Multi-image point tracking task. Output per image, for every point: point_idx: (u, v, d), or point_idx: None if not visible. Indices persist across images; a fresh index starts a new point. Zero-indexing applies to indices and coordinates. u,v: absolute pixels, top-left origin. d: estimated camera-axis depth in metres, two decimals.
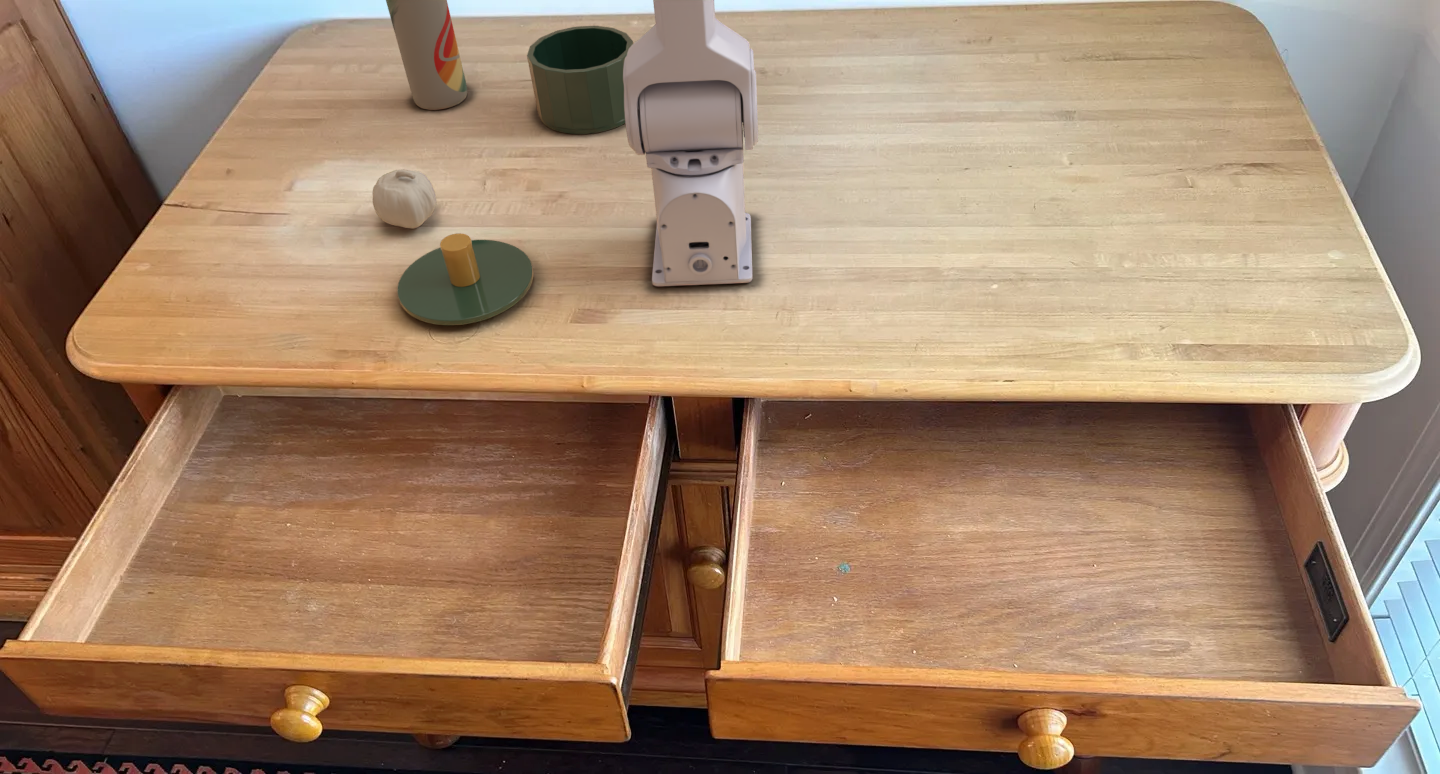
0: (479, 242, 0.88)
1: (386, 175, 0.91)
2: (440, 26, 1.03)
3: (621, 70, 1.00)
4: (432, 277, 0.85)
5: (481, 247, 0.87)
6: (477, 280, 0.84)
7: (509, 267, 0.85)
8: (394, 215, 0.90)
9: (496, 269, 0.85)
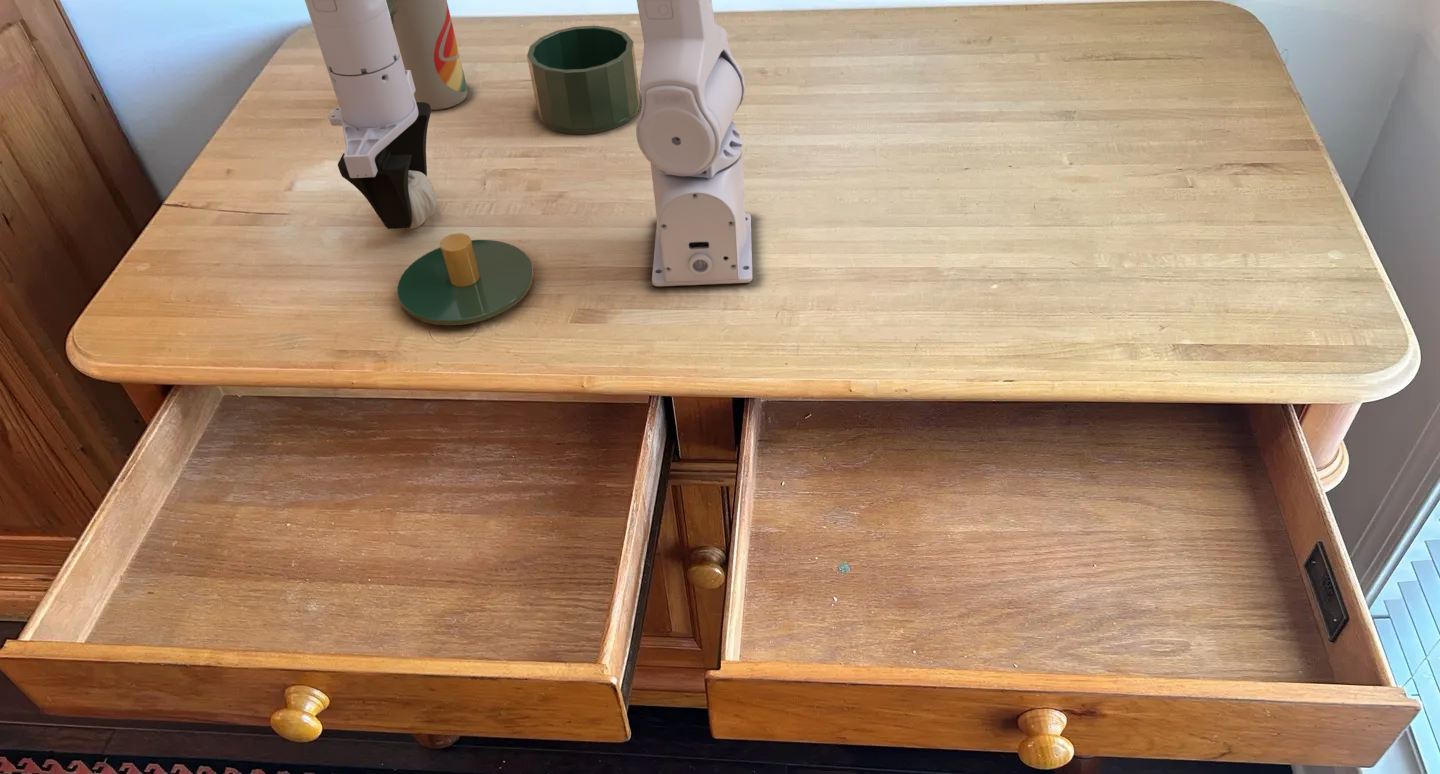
0: (479, 242, 0.88)
1: None
2: (440, 26, 1.03)
3: (621, 70, 1.00)
4: (432, 277, 0.85)
5: (481, 247, 0.87)
6: (477, 280, 0.84)
7: (509, 267, 0.85)
8: None
9: (496, 269, 0.85)
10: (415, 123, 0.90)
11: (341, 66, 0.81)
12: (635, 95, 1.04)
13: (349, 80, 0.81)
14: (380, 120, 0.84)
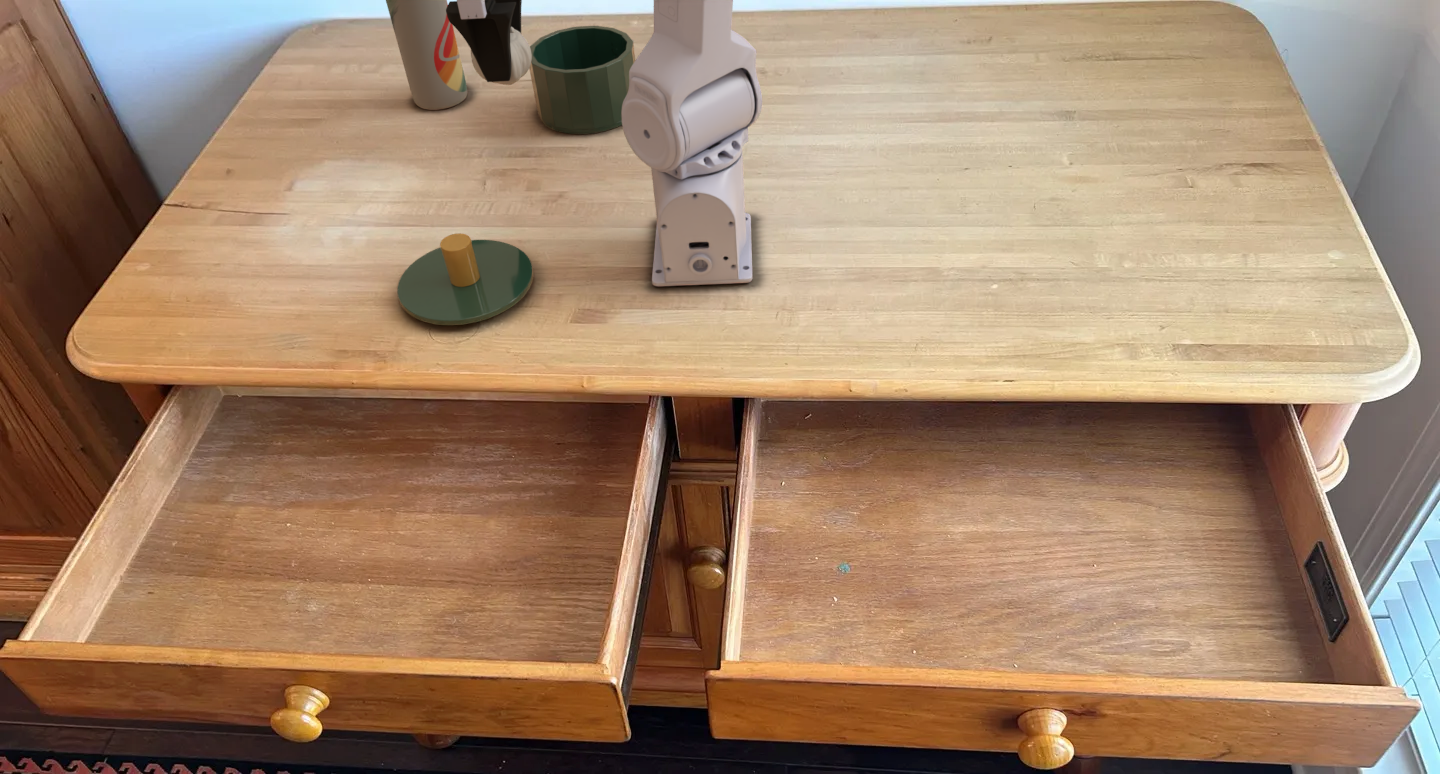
0: (479, 242, 0.88)
1: None
2: (440, 26, 1.03)
3: (621, 70, 1.00)
4: (432, 277, 0.85)
5: (481, 247, 0.87)
6: (477, 280, 0.84)
7: (509, 267, 0.85)
8: None
9: (496, 269, 0.85)
10: None
11: None
12: None
13: None
14: None
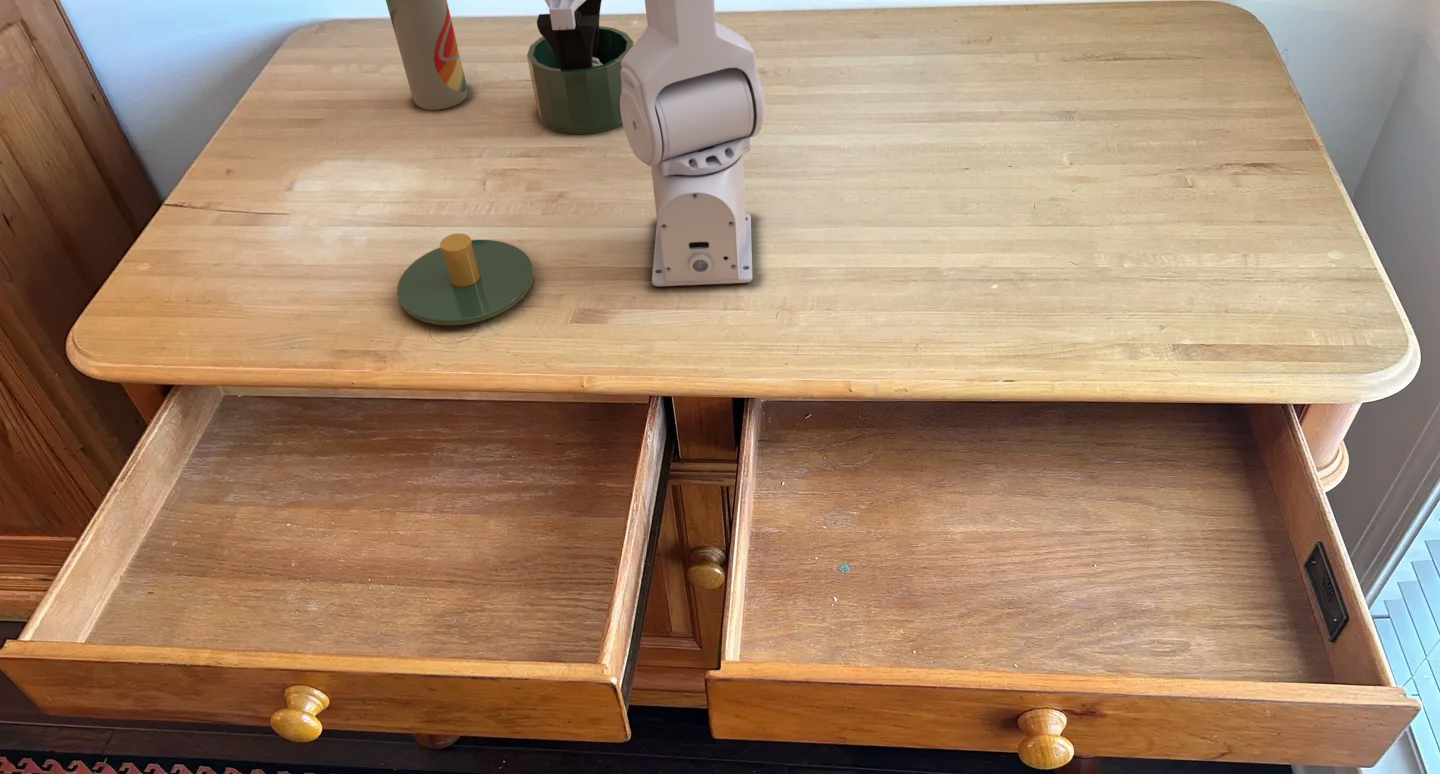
0: (479, 242, 0.88)
1: None
2: (440, 26, 1.03)
3: None
4: (432, 277, 0.85)
5: (481, 247, 0.87)
6: (477, 280, 0.84)
7: (509, 267, 0.85)
8: None
9: (496, 269, 0.85)
10: None
11: None
12: None
13: None
14: None
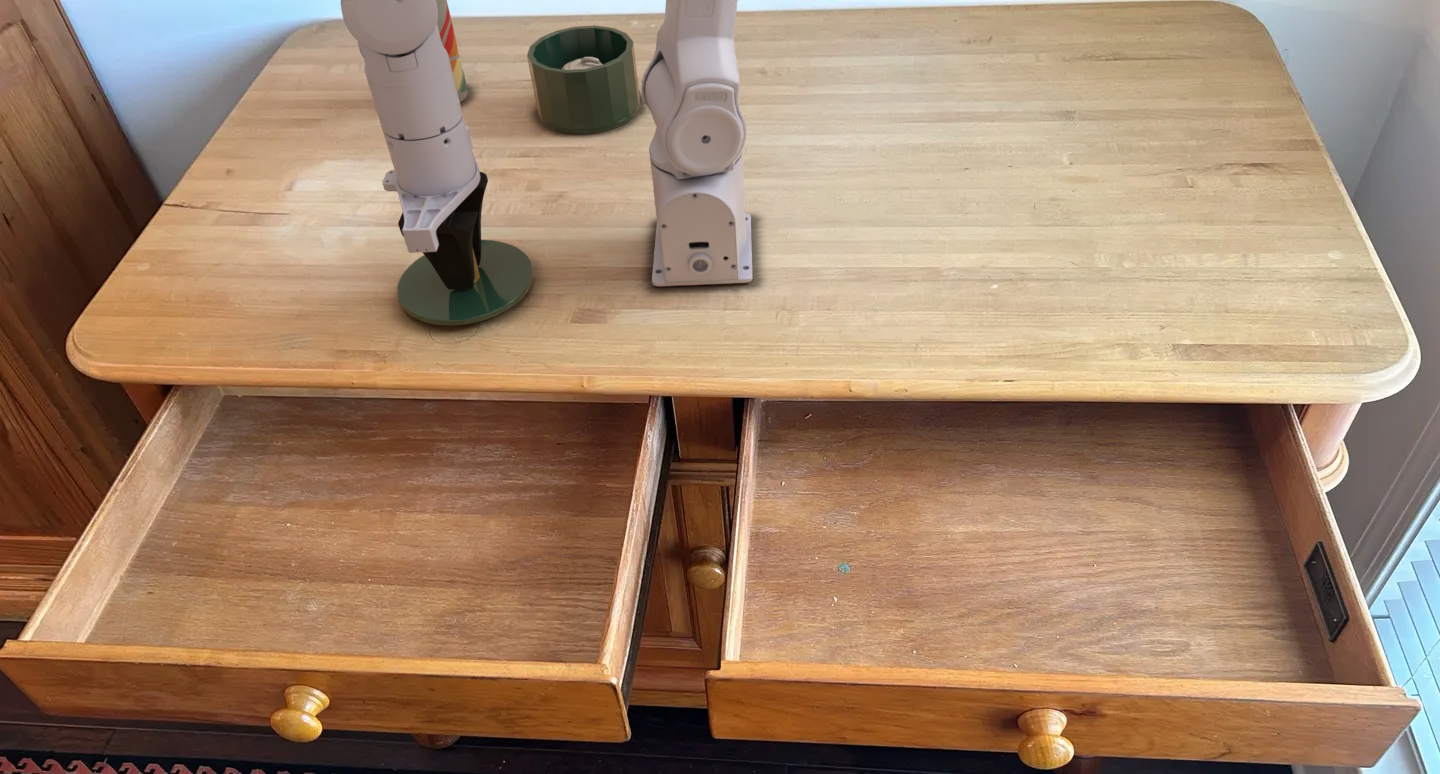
0: None
1: (570, 63, 1.04)
2: (440, 26, 1.03)
3: (621, 70, 1.00)
4: (432, 277, 0.85)
5: (481, 247, 0.87)
6: (477, 280, 0.84)
7: (509, 267, 0.85)
8: None
9: (496, 270, 0.85)
10: (471, 196, 0.81)
11: (418, 129, 0.72)
12: (635, 95, 1.04)
13: (408, 145, 0.73)
14: (440, 187, 0.76)
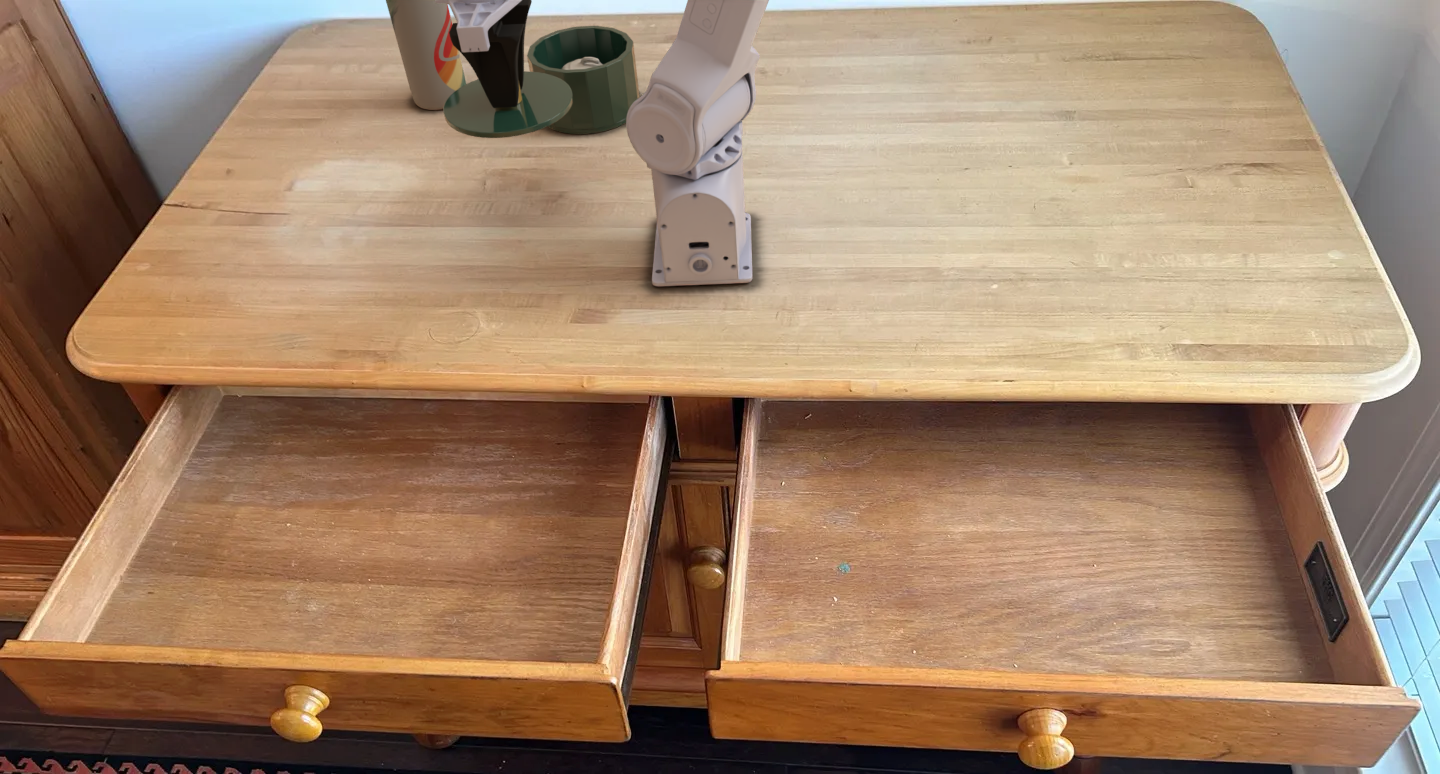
0: None
1: (570, 63, 1.04)
2: (440, 26, 1.03)
3: (621, 70, 1.00)
4: (476, 100, 0.89)
5: None
6: (520, 101, 0.88)
7: (549, 91, 0.89)
8: None
9: (537, 93, 0.89)
10: (516, 14, 0.85)
11: None
12: (635, 95, 1.04)
13: None
14: None
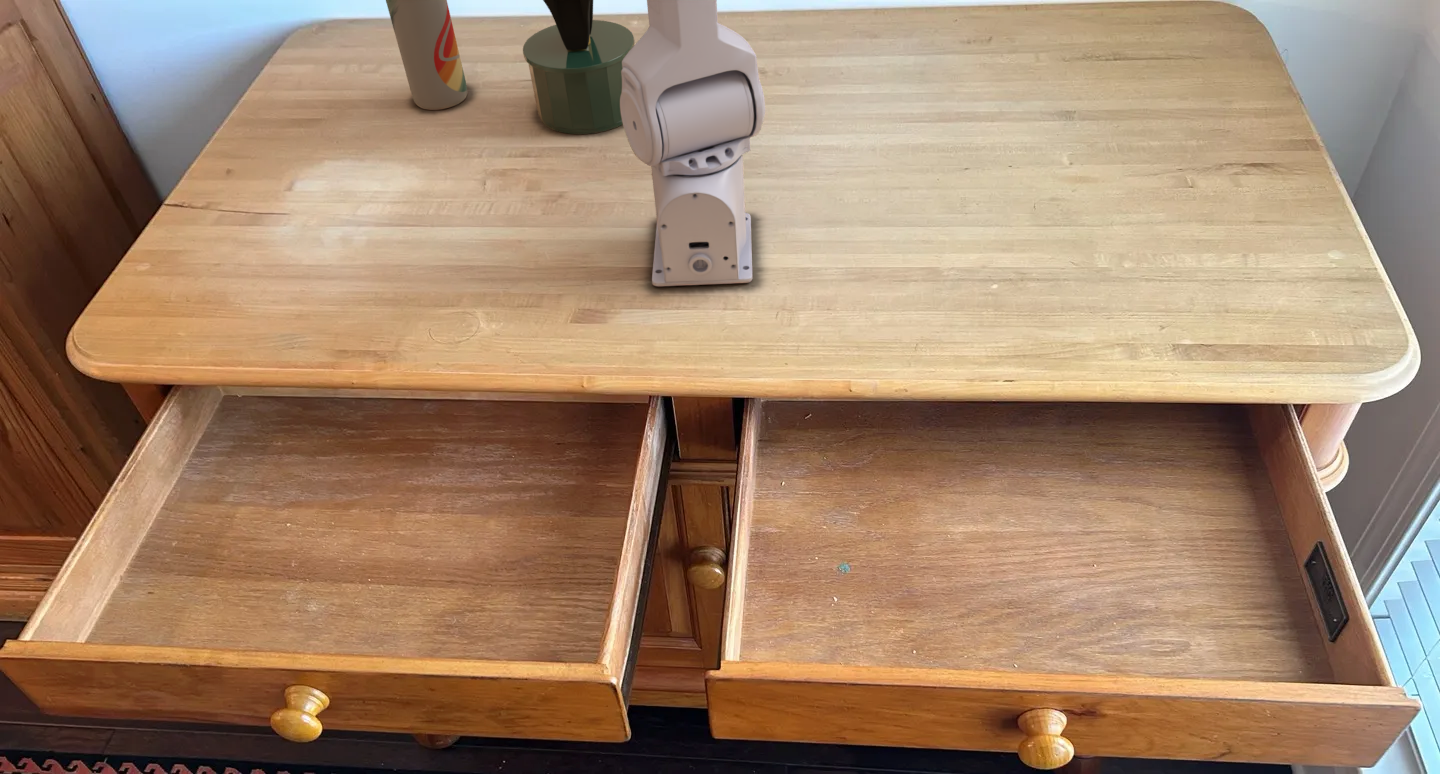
0: None
1: None
2: (440, 26, 1.03)
3: (621, 70, 1.00)
4: (550, 43, 1.02)
5: None
6: (589, 44, 1.01)
7: (614, 36, 1.03)
8: None
9: (603, 37, 1.02)
10: None
11: None
12: None
13: None
14: None
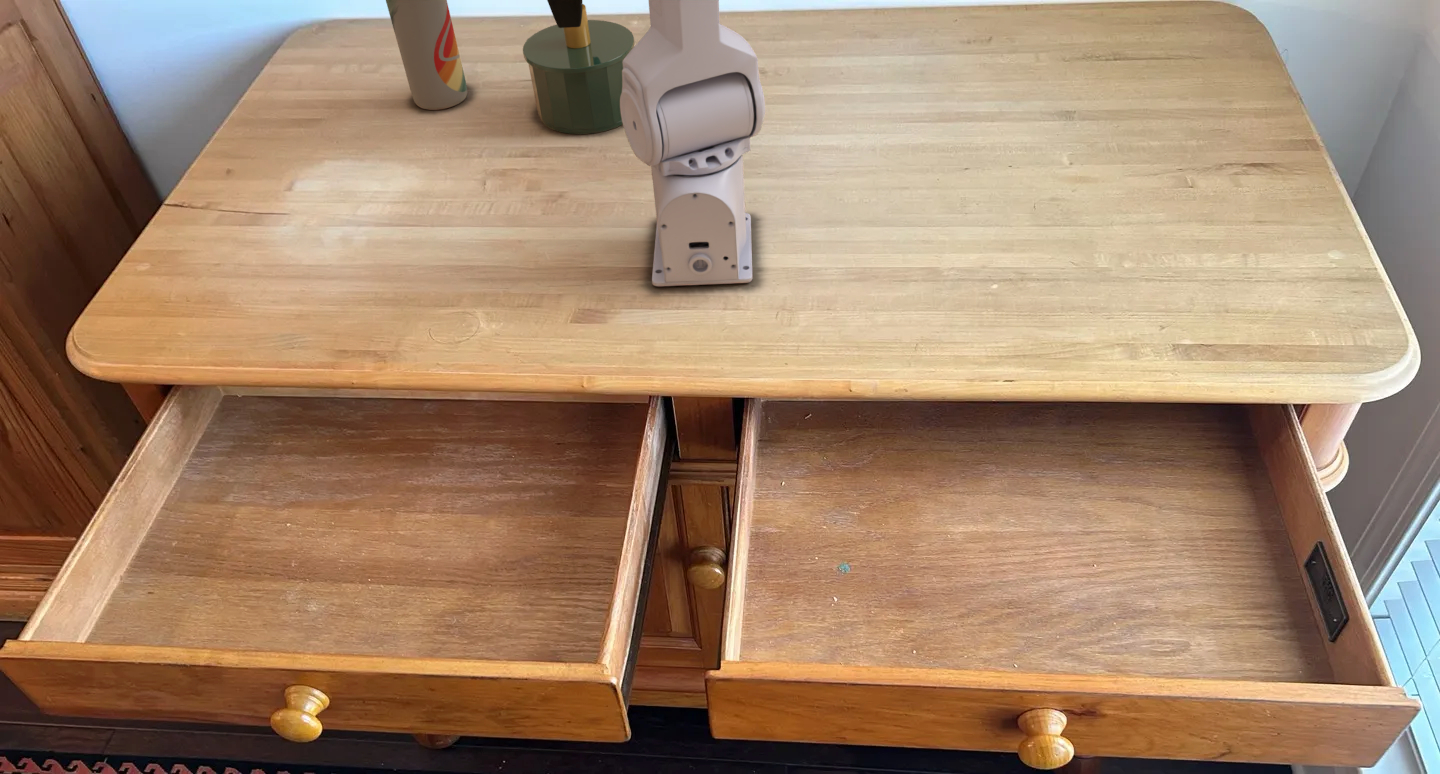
0: None
1: None
2: (440, 26, 1.03)
3: (621, 70, 1.00)
4: (550, 43, 1.02)
5: (588, 24, 1.05)
6: (589, 44, 1.01)
7: (614, 36, 1.03)
8: None
9: (603, 37, 1.02)
10: None
11: None
12: None
13: None
14: None
